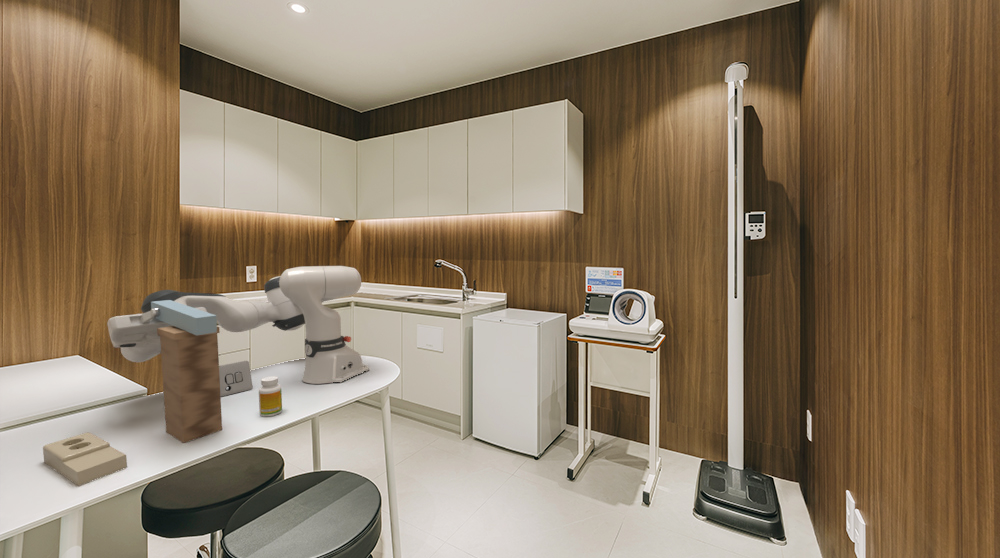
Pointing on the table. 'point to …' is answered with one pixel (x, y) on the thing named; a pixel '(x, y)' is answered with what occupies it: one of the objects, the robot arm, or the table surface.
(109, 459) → the electrical outlet
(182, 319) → the batten
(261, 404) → the supplement bottle
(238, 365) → the electrical switch
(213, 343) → the tall wooden block
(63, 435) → the table surface
